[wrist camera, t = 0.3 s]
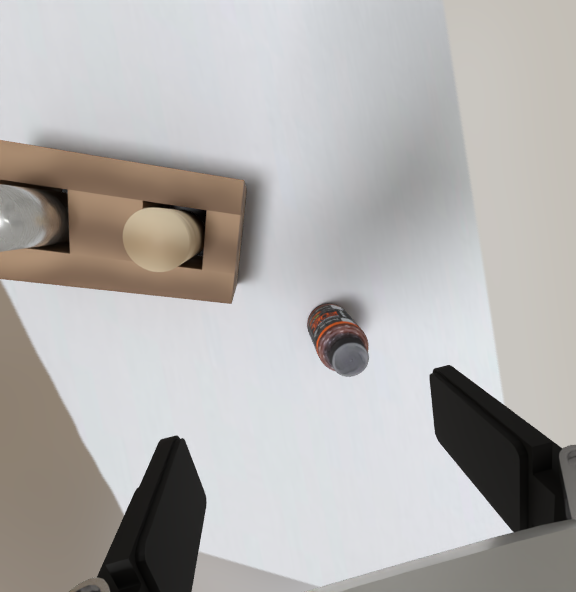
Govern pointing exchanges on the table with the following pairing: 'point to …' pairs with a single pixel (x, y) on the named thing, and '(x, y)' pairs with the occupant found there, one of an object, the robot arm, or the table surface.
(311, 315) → the supplement bottle
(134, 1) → the table surface
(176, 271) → the walnut block
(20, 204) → the gray peg
